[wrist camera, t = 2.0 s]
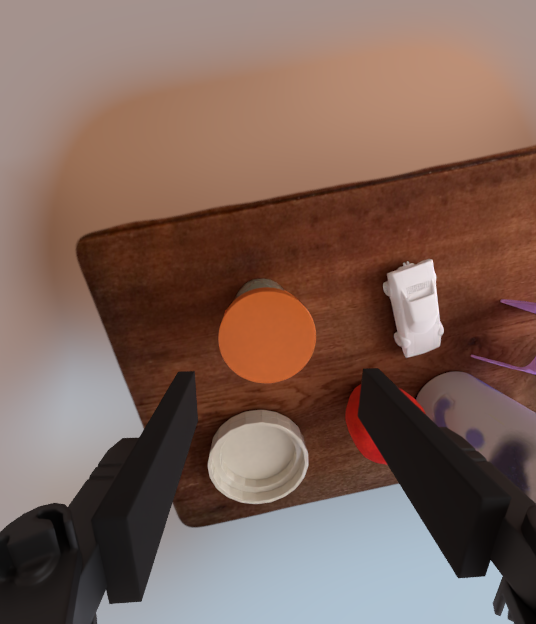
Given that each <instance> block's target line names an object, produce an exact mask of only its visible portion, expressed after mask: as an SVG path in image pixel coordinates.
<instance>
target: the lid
mask: <svg viewBox="0 0 536 624" xmlns="http://www.w3.org/2000/svg"><path fill="white" fill-rule="evenodd" d="M218 342H219V348H220V352H221V354H222V357H223V359H224V360H225V362H226V364H227V365H228V366H229V367H230V368H231V369H232V370H233V371H234V372H235V373H236V374H238V375H239V376H241V377H243V378H245V379H247V380H249V381H253V382H258V383H275V382H279V381H283V380H285V379H288V378H290V377H292V376H293V375H295V374H296V373H298V372H299V371H300V370H301V369H302V368H303V367H304V366H305V365H306V364H307V362H308V361H309V359H310V357H311V356H312V353H313V351H314V348H315V343H316V329H315V325H314V321H313V319H312V317H311V315H310V313H309V312H308V310H307V309H306V308H305V307H304V305H303V304H302V303H301V302H300V301H299V300H298V299H297V298H296V297H295V296H293V295H292V294H290V293H288V292H286V291H284V290H281V289H277V288H270V287H263V288H256V289H253V290H250V291H247V292H245V293H243V294H242V295H240V296H239V297H238V298H236V299H235V300H234V301H233V302H232V303H231V304H230V306H229V307H228V309H227V310H225V312H224V317H223V319H222V322H221V325H220V328H219V334H218Z"/></svg>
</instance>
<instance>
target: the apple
mask: <svg viewBox="0 0 536 624" xmlns="http://www.w3.org/2000/svg"><path fill="white" fill-rule="evenodd" d="M399 389H400V388H399ZM400 390H401V391H402V392H403V393H404V394H405V395H406V396H407V397H408V398H409V399H410V400H411V401H412V402H413V403H414V404H415V405H417V406H418V407H419V408H420V409H421V410H422V411H423V412H424V413H425V411H424V409H423V407H422V406H421V405H420V404H419V403H418V402H417V401H416V400H415V399H414V398H413V397H412V396H411V395H409V394H408V393H406V392H405V391H404V390H402V389H400ZM360 391H361V384H360V385H359V386H357V387H356V388H354V390H353V392H352V393H351V395H350V397H349V401H348V404H347V407H346V415H345V419H346V423H347V427H348V431H349V433H350V435H351V437H352V439H353V441H354V443H355V445H356V447H357V448H358V450H359V451H360V452H361V453H362V454H363V456H364V457H365V458H367V459H369V460H371V461H373V462H376V463H380V464H387V463H386V461H385V460H384V458H383V456H382V455H381V453H380V452H379V450H378V448H377V447H376V445H375V444H374V442H373V440H372V439H371V437H370V435H369V434H368V432H367V431H366V429H365V427H364V426H363V424H362V423H361V421H360V419H359V418H358V416H357V415H358V407H359V399H360ZM425 414H426V413H425ZM387 465H388V464H387Z"/></svg>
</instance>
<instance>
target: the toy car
mask: <svg viewBox="0 0 536 624" xmlns="http://www.w3.org/2000/svg"><path fill="white" fill-rule="evenodd" d="M387 278H388V281H386V282H384V283H383V290H384V292H385V294H386V295H387V296H390V297H389V298H390V299H391V304H392V308H393V314H394V318H395V323H396V328H397V332H396V333H395V334H394V339H395V342H396V343H397V344H398V345H399V346H402V347H401V348H402V350H403V353H404V355H405V357H406V358H408V357H412V356H416V355H420V354H423V353H426V352H428V351H431V350H433V349H435V348H438V347H440V343H441V336H442V335H443V332H444V328H443V326H442V324H441V322H440V317H439V308H438V299H437V291H436V274H435V272H434V267H433V260H432V259H427V260H424V261H421V262H419V263H418V264H416V265H415V264H414V263H410V264H409V261H407V265H406V263H405V262H404V263H403V267H399V268H398V269H397V270H396V271H392V272H389V273H387Z"/></svg>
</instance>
